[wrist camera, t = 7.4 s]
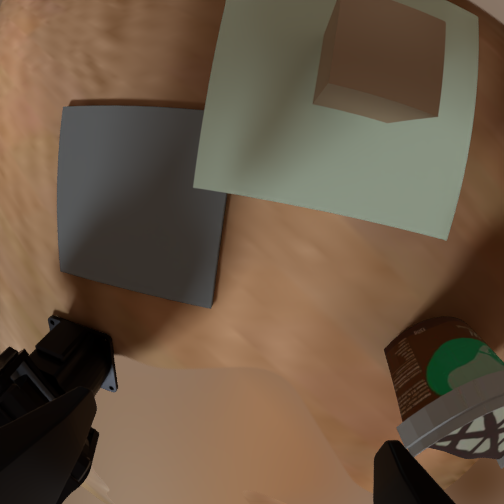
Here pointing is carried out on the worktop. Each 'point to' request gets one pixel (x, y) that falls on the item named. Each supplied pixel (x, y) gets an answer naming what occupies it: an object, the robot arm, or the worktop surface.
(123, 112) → the mat
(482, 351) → the food container
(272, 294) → the worktop surface
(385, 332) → the worktop surface
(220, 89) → the lid
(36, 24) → the worktop surface
